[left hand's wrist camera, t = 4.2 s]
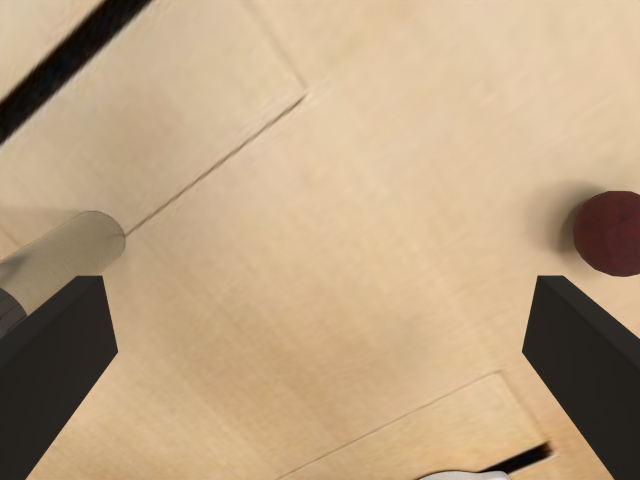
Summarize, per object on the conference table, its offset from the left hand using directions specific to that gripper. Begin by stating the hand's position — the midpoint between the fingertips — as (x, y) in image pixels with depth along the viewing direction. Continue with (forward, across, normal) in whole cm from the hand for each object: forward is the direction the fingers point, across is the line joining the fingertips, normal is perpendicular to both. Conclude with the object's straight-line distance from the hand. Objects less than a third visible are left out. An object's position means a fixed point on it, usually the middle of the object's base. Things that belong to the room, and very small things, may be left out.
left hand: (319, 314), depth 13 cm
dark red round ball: (+28, +27, -6) cm, 39 cm away
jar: (+28, -22, -8) cm, 37 cm away
